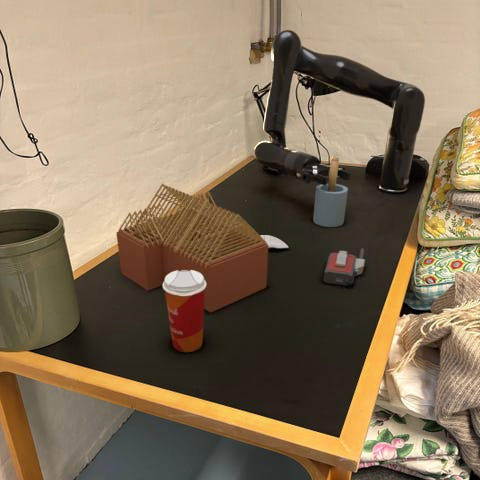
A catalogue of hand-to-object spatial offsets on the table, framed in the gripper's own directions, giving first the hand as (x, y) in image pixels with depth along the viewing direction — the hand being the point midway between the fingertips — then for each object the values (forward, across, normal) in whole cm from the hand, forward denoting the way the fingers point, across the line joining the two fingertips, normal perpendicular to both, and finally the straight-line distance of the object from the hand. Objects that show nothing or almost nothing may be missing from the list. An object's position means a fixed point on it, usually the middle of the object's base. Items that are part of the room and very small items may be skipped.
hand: (338, 179), depth 141 cm
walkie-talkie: (+24, -18, +13) cm, 33 cm away
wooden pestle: (-2, 0, +12) cm, 12 cm away
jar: (-2, 0, +13) cm, 13 cm away
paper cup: (+32, -65, +13) cm, 74 cm away
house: (+9, -51, +13) cm, 54 cm away
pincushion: (+4, -27, +13) cm, 30 cm away
